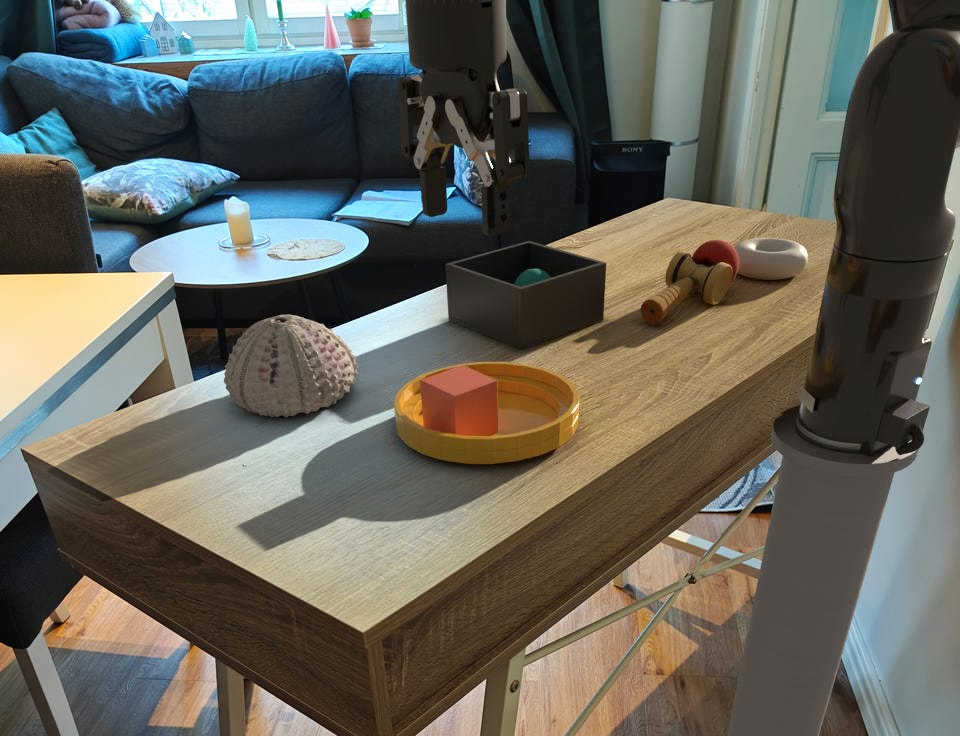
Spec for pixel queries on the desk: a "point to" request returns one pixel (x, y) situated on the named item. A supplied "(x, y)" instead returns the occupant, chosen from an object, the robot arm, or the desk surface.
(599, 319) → the bin
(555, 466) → the desk surface
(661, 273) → the desk surface
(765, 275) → the donut
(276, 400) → the sea urchin shell
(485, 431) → the toy block
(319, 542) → the desk surface
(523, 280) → the toy ball
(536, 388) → the bowl
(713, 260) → the kendama
